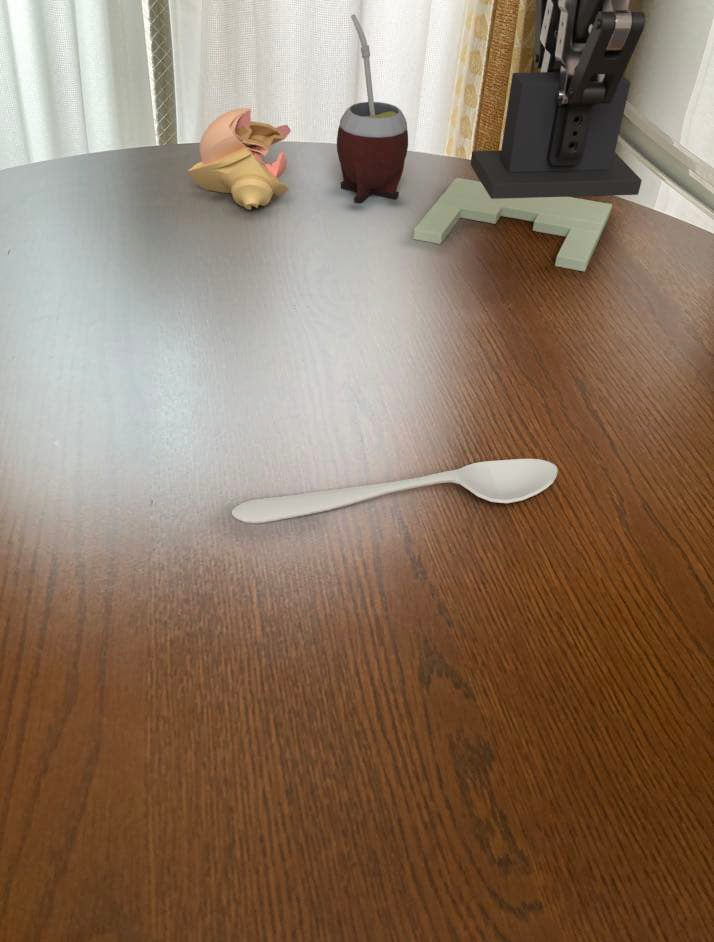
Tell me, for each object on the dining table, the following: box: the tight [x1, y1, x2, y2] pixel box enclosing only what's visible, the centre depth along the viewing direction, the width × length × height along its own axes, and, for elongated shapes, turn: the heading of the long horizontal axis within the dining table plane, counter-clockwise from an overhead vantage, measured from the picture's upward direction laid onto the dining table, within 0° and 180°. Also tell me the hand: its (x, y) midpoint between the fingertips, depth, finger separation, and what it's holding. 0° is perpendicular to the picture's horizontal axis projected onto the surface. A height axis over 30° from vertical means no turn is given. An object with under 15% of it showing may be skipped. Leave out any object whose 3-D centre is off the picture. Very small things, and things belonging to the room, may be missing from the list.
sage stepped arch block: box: [412, 177, 613, 272], centre depth 88 cm, size 16×14×1 cm
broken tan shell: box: [187, 107, 292, 211], centre depth 90 cm, size 9×10×10 cm
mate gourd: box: [336, 14, 409, 204], centre depth 89 cm, size 8×8×15 cm
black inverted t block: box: [470, 71, 642, 199], centre depth 61 cm, size 10×8×6 cm
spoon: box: [231, 458, 559, 524], centre depth 57 cm, size 4×21×2 cm, turn 100°
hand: (556, 154), depth 62 cm, fingers closed on black inverted t block, 2 cm apart
